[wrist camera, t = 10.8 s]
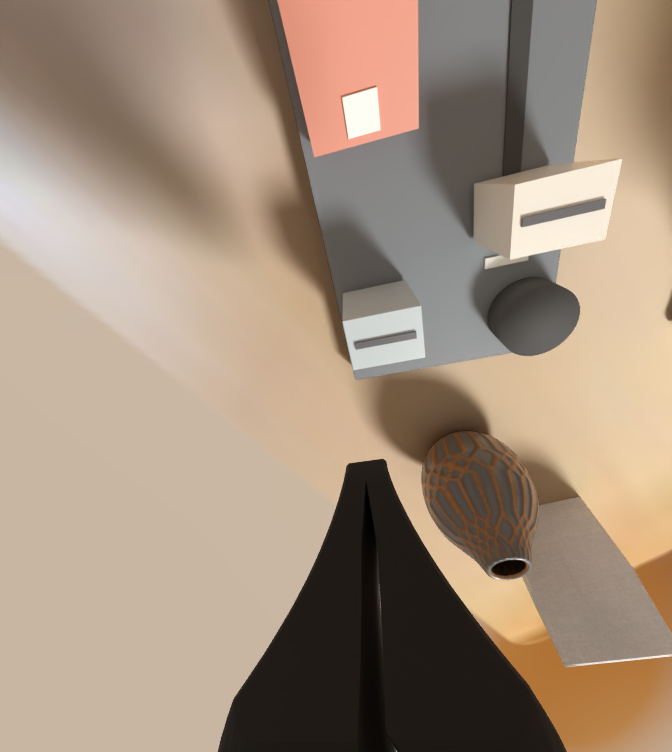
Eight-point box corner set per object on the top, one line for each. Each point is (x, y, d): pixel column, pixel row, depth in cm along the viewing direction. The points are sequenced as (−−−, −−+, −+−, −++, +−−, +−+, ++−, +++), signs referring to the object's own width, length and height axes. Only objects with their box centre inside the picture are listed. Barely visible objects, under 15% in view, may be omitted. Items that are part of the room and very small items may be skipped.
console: (609, -312, 9) (690, -462, 7) (532, 335, 19) (555, 354, 17) (238, -153, 10) (211, -236, 8) (354, 367, 20) (355, 388, 18)
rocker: (403, -270, 7) (417, -307, 6) (411, 117, 12) (419, 129, 11) (235, -195, 8) (225, -218, 7) (313, 145, 13) (314, 158, 12)
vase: (462, 490, 27) (508, 609, 19) (396, 461, 25) (418, 580, 18) (525, 439, 23) (609, 559, 16) (454, 401, 22) (511, 516, 14)
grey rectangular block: (498, 513, 28) (563, 656, 20) (579, 496, 27) (688, 642, 18) (503, 535, 30) (565, 674, 22) (580, 520, 29) (680, 663, 20)
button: (565, 269, 15) (586, 278, 14) (554, 335, 17) (572, 348, 16) (489, 285, 16) (502, 295, 14) (486, 347, 18) (498, 361, 16)
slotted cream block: (553, 163, 13) (624, 158, 10) (546, 225, 14) (606, 239, 11) (474, 183, 13) (516, 184, 10) (473, 242, 15) (511, 260, 11)
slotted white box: (405, 279, 16) (421, 306, 12) (409, 323, 17) (425, 358, 14) (342, 293, 16) (342, 322, 13) (351, 334, 17) (353, 371, 14)
